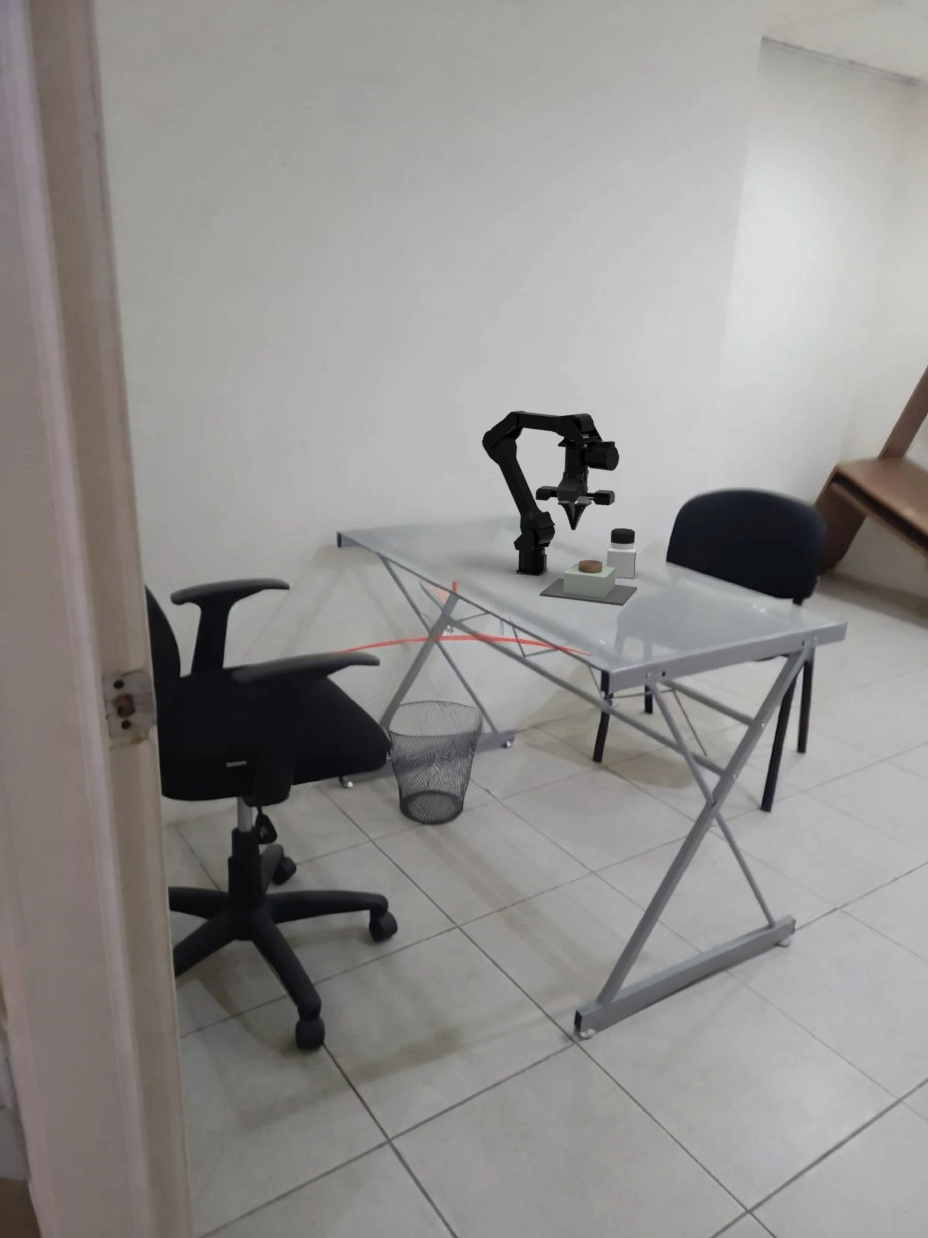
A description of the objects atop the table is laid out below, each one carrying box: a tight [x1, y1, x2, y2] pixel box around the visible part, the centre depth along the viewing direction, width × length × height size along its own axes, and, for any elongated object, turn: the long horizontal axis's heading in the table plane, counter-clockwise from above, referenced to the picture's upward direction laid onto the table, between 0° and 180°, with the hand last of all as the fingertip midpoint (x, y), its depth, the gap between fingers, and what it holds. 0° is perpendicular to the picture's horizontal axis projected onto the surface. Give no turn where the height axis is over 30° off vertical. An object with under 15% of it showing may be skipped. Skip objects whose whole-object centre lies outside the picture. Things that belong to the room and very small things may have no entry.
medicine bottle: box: [606, 527, 637, 579], centre depth 222 cm, size 7×7×12 cm
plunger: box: [578, 559, 603, 572], centre depth 207 cm, size 6×6×6 cm
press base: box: [539, 562, 638, 606], centre depth 207 cm, size 20×15×6 cm
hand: (573, 529), depth 214 cm, fingers closed
